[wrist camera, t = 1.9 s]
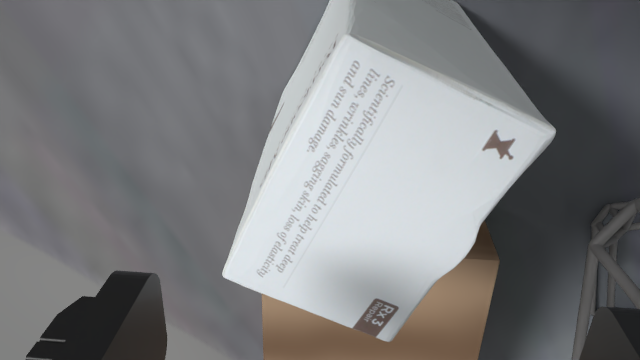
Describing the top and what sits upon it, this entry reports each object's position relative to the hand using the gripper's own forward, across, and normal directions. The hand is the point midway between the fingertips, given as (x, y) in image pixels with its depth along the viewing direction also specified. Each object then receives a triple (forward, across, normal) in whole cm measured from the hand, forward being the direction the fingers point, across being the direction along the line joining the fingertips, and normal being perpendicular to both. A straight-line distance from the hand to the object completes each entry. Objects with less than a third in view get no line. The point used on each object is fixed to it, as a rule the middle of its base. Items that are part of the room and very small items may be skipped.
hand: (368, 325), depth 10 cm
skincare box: (+19, 0, 0) cm, 19 cm away
